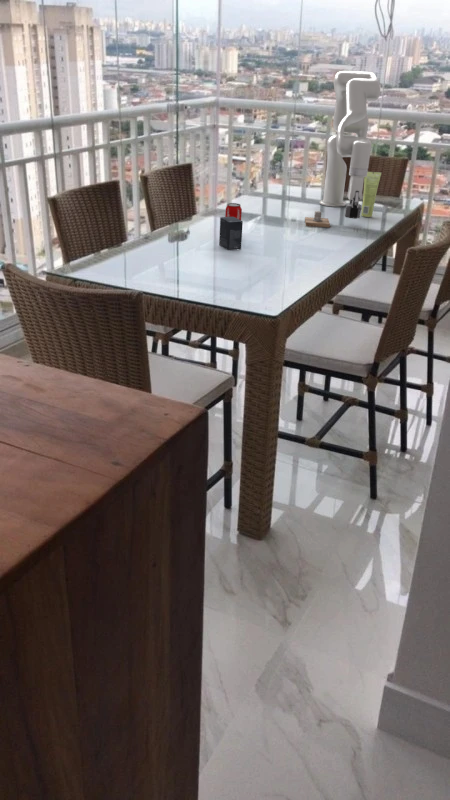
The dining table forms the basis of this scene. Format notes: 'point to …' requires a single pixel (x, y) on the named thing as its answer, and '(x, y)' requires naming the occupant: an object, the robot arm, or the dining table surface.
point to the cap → (347, 211)
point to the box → (230, 233)
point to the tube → (370, 193)
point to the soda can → (233, 210)
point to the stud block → (317, 220)
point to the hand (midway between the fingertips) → (352, 214)
